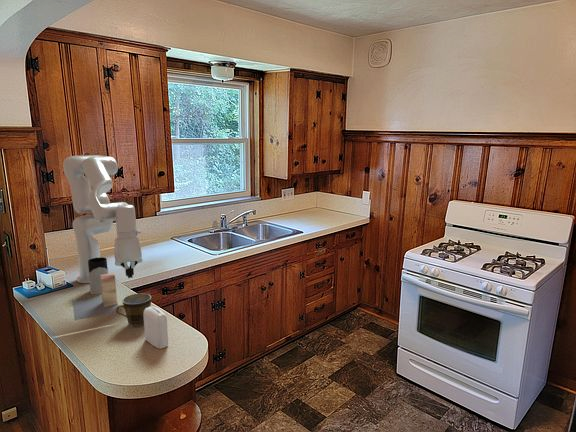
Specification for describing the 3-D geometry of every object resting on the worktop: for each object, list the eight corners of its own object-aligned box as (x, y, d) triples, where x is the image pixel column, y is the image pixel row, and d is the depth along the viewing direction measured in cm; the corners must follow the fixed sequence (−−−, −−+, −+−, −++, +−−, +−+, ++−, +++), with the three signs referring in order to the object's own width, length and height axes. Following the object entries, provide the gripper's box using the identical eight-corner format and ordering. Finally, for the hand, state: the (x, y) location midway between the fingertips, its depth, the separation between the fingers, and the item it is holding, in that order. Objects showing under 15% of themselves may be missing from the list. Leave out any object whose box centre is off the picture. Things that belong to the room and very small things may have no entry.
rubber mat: (72, 302, 161) (72, 301, 161) (114, 295, 169) (114, 293, 169) (74, 321, 144) (74, 320, 144) (120, 312, 152) (120, 310, 152)
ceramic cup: (143, 315, 150) (142, 291, 148) (158, 322, 144) (156, 297, 142) (111, 327, 140) (109, 301, 138) (125, 336, 134) (123, 309, 132)
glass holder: (90, 297, 167) (87, 264, 164) (86, 286, 178) (83, 255, 176) (112, 293, 172) (109, 260, 169) (107, 283, 183) (104, 253, 180)
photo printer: (143, 339, 132) (141, 306, 129) (154, 335, 135) (152, 302, 132) (158, 350, 125) (156, 315, 123) (170, 345, 128) (168, 311, 126)
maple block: (102, 302, 160) (100, 275, 158) (115, 300, 163) (113, 273, 160) (103, 306, 156) (101, 278, 154) (117, 304, 158) (115, 276, 156)
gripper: (144, 231, 165) (146, 271, 169) (106, 235, 158) (109, 277, 161) (147, 234, 159) (150, 276, 162) (108, 238, 151) (111, 283, 155)
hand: (130, 276), depth 162 cm, fingers closed
